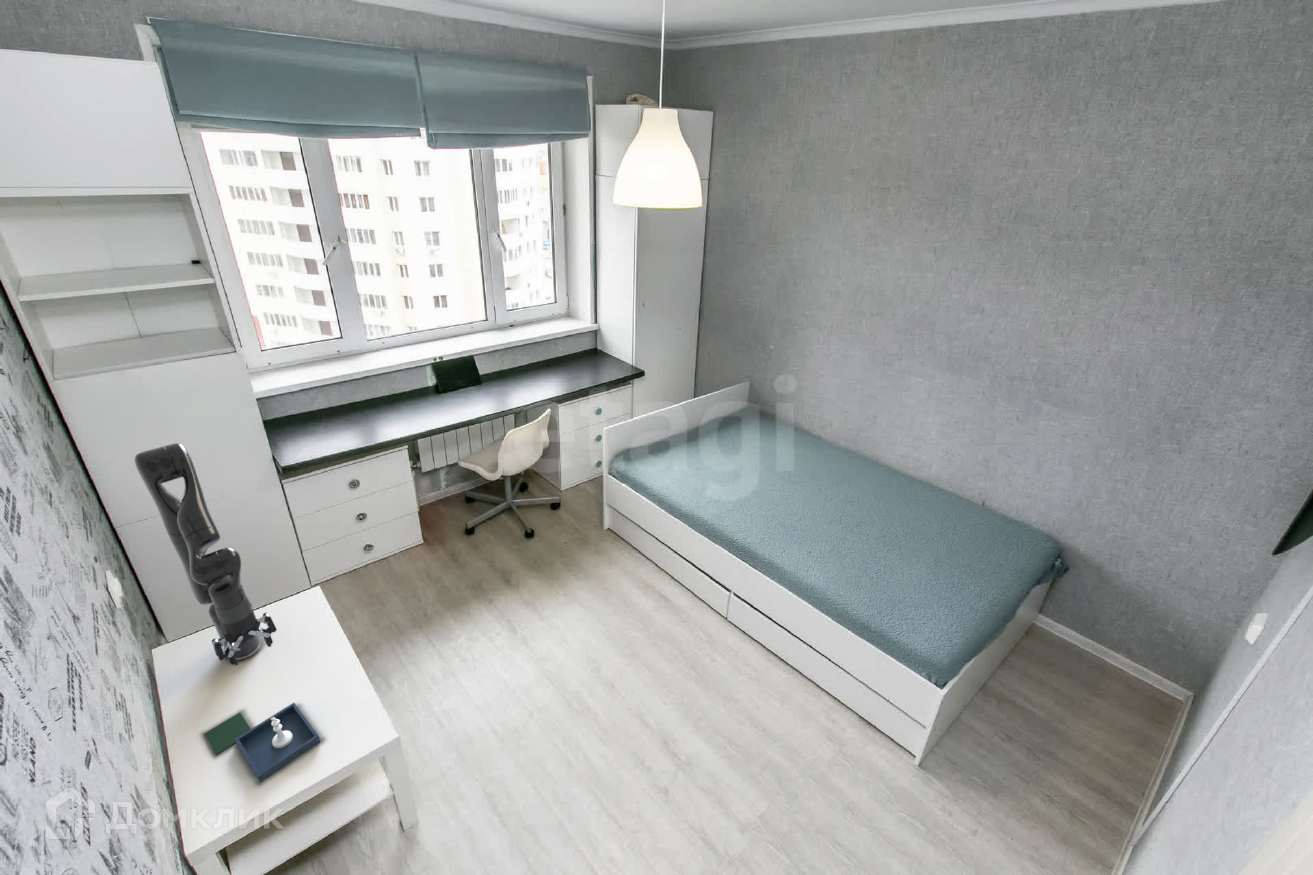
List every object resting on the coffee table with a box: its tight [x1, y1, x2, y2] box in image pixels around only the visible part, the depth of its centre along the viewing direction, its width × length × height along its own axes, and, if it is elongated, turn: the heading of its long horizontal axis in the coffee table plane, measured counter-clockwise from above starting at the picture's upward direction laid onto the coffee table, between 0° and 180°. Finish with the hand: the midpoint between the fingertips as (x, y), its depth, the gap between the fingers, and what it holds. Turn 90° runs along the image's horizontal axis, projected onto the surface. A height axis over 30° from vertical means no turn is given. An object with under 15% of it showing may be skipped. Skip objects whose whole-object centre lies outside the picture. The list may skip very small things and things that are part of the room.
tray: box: [234, 702, 321, 783], centre depth 165 cm, size 16×16×2 cm
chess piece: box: [271, 717, 293, 748], centre depth 164 cm, size 5×5×10 cm
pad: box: [203, 712, 251, 756], centre depth 167 cm, size 9×9×1 cm
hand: (252, 654), depth 167 cm, fingers open, 8 cm apart
